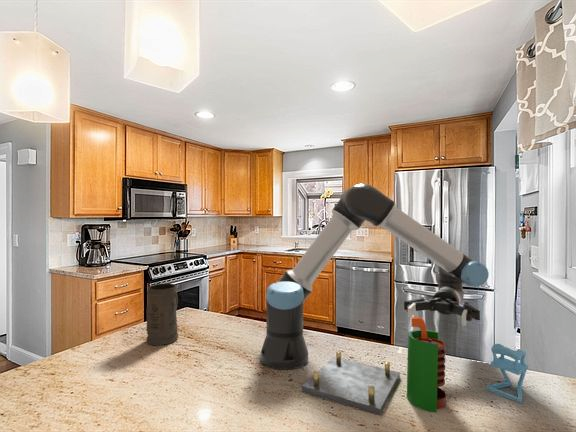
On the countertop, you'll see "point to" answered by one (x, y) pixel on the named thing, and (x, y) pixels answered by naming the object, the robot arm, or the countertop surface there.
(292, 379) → the countertop surface
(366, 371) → the plate
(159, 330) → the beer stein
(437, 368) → the motor
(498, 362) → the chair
